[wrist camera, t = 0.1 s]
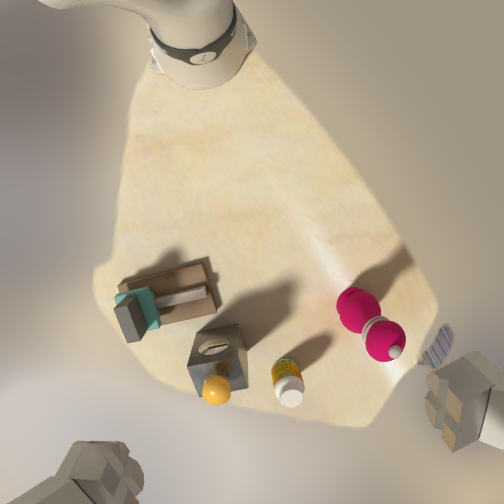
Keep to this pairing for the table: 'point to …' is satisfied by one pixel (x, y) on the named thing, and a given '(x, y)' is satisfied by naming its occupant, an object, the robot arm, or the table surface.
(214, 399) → the button
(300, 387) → the supplement bottle
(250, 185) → the table surface
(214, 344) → the cabinet
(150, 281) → the rail board
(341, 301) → the pepper mill
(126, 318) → the carriage
